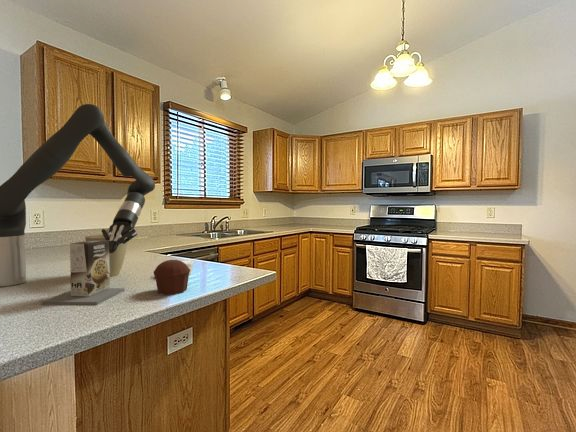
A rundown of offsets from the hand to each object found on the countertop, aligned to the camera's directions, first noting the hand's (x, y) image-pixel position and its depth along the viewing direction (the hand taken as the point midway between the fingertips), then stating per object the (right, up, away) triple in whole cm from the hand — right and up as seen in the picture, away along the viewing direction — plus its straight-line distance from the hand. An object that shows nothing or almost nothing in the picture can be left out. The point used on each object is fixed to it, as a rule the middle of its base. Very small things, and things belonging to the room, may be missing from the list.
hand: (109, 251), depth 106 cm
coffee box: (0, -12, -10) cm, 16 cm away
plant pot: (-10, -11, +16) cm, 22 cm away
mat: (0, -12, -12) cm, 18 cm away
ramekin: (+18, -11, +16) cm, 27 cm away
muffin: (+24, -12, -6) cm, 28 cm away
